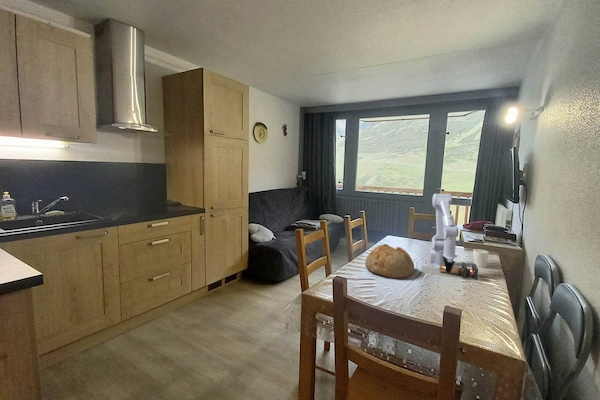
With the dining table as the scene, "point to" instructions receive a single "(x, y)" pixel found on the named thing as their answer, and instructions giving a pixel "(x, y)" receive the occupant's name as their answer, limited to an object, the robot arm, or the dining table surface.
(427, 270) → the pale gray board
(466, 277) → the dark gray arch
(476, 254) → the white cup
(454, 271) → the copper tube
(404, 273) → the bread
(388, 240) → the dining table surface
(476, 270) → the collar
